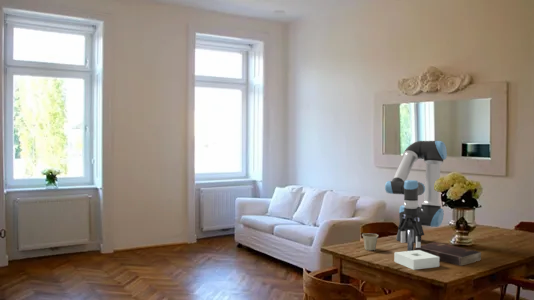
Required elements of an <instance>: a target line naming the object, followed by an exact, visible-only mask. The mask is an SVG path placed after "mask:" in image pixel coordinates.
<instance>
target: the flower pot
mask: <svg viewBox="0 0 534 300" xmlns="http://www.w3.org/2000/svg"><path fill="white" fill-rule="evenodd" d="M361 236H362V238H363V244H364V245H363V246H364V250H366V251H373V250H374V251H376V249H377V241H378V238H379V234H377V233H370V232H369V233H362V234H361Z"/></svg>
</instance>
